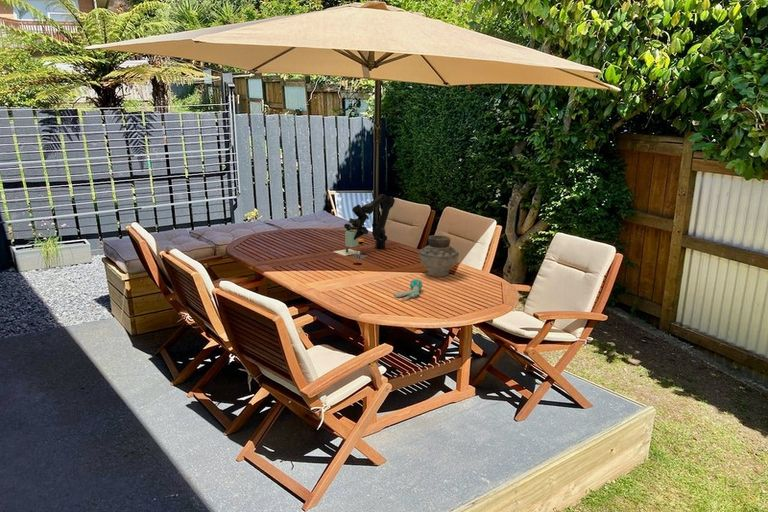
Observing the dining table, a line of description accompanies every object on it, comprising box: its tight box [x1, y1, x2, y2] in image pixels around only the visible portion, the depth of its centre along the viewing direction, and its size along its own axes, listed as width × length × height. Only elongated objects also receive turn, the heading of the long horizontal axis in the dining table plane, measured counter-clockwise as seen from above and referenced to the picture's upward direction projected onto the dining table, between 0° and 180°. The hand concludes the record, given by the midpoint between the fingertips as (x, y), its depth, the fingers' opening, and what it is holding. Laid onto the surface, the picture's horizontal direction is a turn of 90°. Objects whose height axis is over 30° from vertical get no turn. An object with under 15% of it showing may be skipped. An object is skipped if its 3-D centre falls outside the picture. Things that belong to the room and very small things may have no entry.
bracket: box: [353, 230, 364, 244], centre depth 452 cm, size 11×7×12 cm, turn 38°
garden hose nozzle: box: [393, 278, 423, 302], centre depth 332 cm, size 7×18×20 cm
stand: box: [349, 250, 369, 260], centre depth 407 cm, size 10×10×5 cm
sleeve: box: [344, 230, 359, 248], centre depth 410 cm, size 6×6×10 cm
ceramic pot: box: [418, 234, 460, 278], centre depth 370 cm, size 25×25×24 cm
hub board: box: [332, 246, 358, 256], centre depth 418 cm, size 14×14×5 cm
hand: (350, 238), depth 409 cm, fingers closed on sleeve, 6 cm apart
